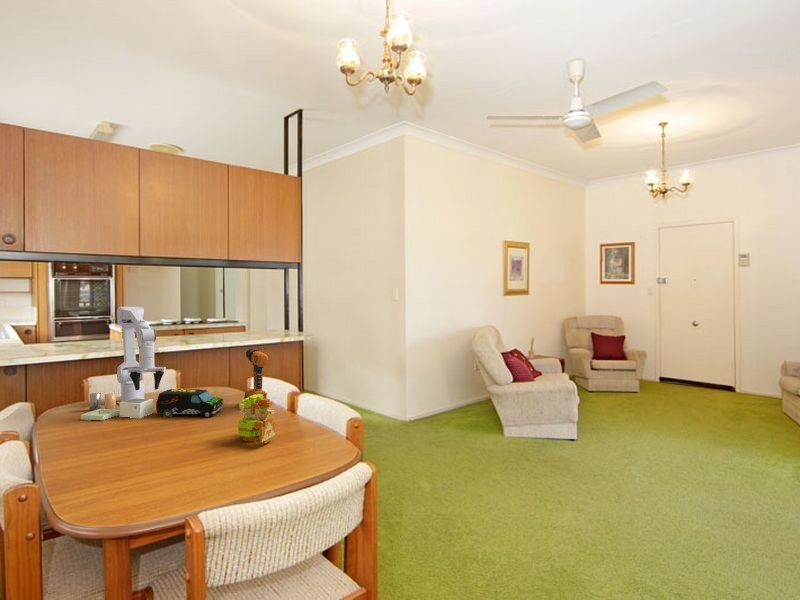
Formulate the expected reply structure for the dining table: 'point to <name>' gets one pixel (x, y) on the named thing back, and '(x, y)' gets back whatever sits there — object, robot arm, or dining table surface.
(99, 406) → the grey peg
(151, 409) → the box
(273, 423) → the toy
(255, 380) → the power drill
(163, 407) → the toy van
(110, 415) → the tray
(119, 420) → the dining table surface
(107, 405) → the terracotta peg
